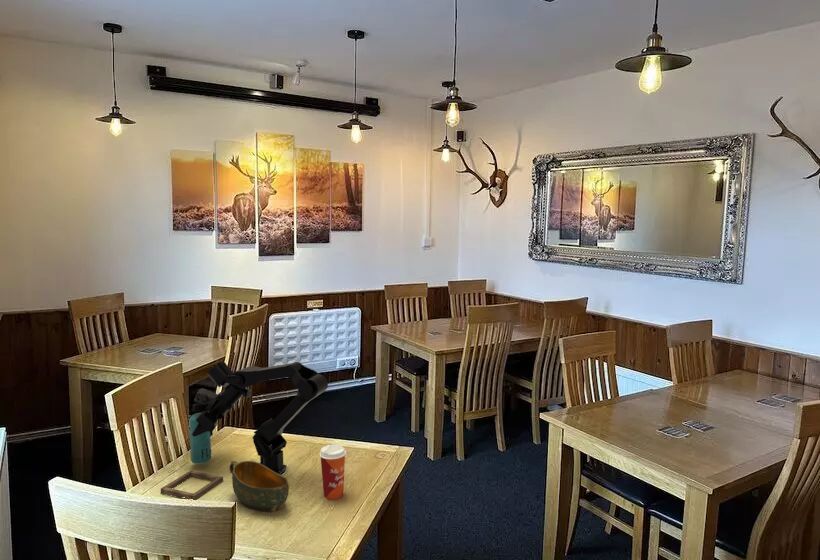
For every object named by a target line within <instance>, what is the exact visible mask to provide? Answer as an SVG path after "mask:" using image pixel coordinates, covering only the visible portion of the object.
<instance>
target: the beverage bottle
mask: <svg viewBox="0 0 820 560" xmlns="http://www.w3.org/2000/svg"><path fill="white" fill-rule="evenodd" d="M206 407H207V405H204V404H201V403H197V402H196V403H194V404H192V412H193V413H194V414H192V415H191V416H190V417H189V420H188V421H189V435H190V437H189V442H190V445H189V448H190V453H189V456H190V461H191V463H192V464H204V463H208V462H209V461H211V459H212V443H211V442H212V439H211V432H209V431H207V432H205V433H202V434H200V435H197V436H195V437H194V436H193V435H192V433H193V432H194V430H195V428H196V427H197V425H198V422H197V421H196V418H197V417H198V416H199V415H200V414H201V413H202V412H203V411H207V408H206Z"/></svg>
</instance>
